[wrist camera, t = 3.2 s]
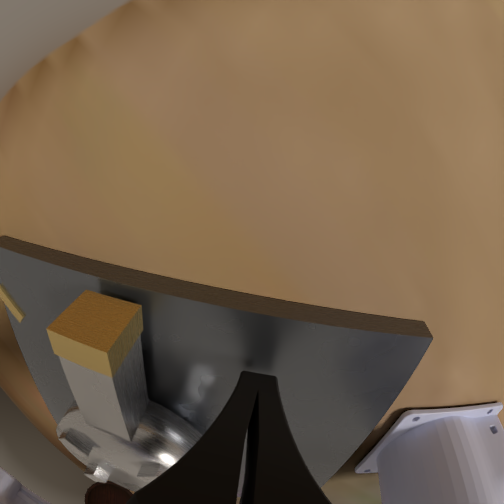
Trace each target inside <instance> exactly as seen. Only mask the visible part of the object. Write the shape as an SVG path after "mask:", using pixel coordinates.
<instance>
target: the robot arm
mask: <svg viewBox="0 0 504 504" xmlns="http://www.w3.org/2000/svg"><path fill="white" fill-rule="evenodd" d="M502 408H503V405H502V403H501V402H498V403H492V404H484V405H476V406H467V407H457V408H444V409H425V410H408V411H406V412H404V413H403V414H402V415H401V416H400V417H399V419H398V420H397V421H396V422H395V424H394V425H393V426H392V427H391V428H390V430H389V431H388V432H387V433H386V434H385V436H384V437H383V438H382V439H381V440H380V441H379V442H378V444H377V445H376V446H375V447H374V448H373V449H372V450H371V451H370V452H369V454H368V455H367V456H366V457H365V458H364V459H363V460H362V461H361V462H360V463H359V464H358V465H357V466H356V467H355V472H356V473H376V472H378V475H379V483H380V491H381V499H382V504H504V429H503V427H502V425H501V423H500V420H499V418H498V416H497V414H498V413H499V412H500V411H501V409H502ZM247 429H248V431H247ZM246 433H247V446H246V461H245V474H244V482H243V488H242V493H241V498H240V504H331V502H330V501H329V500H328V498H327V497H326V496H325V494H324V493H323V491H322V490H321V488H320V487H319V485H318V484H317V482H316V481H315V479H314V478H313V476H312V475H311V473H310V471H309V469H308V467H307V466H306V464H305V462H304V460H303V458H302V456H301V454H300V452H299V450H298V447H297V445H296V443H295V440H294V438H293V435H292V433H291V430H290V427H289V424H288V421H287V418H286V415H285V412H284V408H283V405H282V401H281V397H280V392H279V386H278V378H277V377H276V376H272V375H266V374H260V373H255V372H249V371H242V372H241V373H240V377H239V380H238V382H237V384H236V387H235V389H234V391H233V393H232V394H231V396H230V398H229V400H228V401H227V403H226V404H225V406H224V408H223V409H222V411H221V412H220V414H219V415H218V417H217V418H216V419H215V421H214V422H213V423H212V425H211V426H210V427H209V429H208V430H207V431H206V432H205V433H204V435H203V436H202V437H201V438H200V439H199V440H198V441H197V442H196V444H195V445H194V446H193V447H192V448H191V449H190V450H189V451H188V452H187V453H186V454H185V455H184V456H183V457H181V458H180V459H179V460H178V461H177V462H176V463H175V464H173V465H172V466H171V467H170V468H169V469H167V470H166V471H165V472H164V473H162V474H161V475H160V476H158V477H157V478H156V479H154V480H153V481H151V482H150V483H148V484H147V485H145V486H144V487H142V488H141V489H139V490H138V491H136V492H135V493H134V494H133V495H132V497H131V498H130V499H129V500H128V501H127V502H126V504H236V500H237V492H238V485H239V478H240V471H241V464H242V457H243V450H244V443H245V438H246ZM0 504H51V503H49V502H47V501H46V500H44V499H42V498H41V497H39V496H38V495H36V494H35V493H33V492H32V491H30V490H29V489H27V488H26V487H24V486H23V485H22V484H21V483H20V482H19V481H18V480H17V479H15V478H14V477H13V476H12V475H11V474H9V473H8V472H6V471H5V470H4V469H3V468H1V467H0Z"/></svg>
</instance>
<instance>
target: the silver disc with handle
mask: <svg viewBox="0 0 504 504" xmlns="http://www.w3.org/2000/svg"><path fill="white" fill-rule="evenodd" d="M46 330H47V333H48V336H49V339H50V342H51V345H52V349H53V351H54V354H56V355H58V356H59V359H60V361H61V364H62V367H63V370H64V373H65V375H66V378H67V380H68V383H69V386H70V388H71V391H72V393H73V395H74V398H75V400H74V401H73V403H72V404H71V406H70V407H69V409H68V410H67V412H66V413H65V415H64V416H63V418H62V420H61V421H60V423H59V424H58V426H57V429H56V431H57V435H58V437H59V438H58V440H60V441H61V442H62V443H63V445H64V446H65V447H66V448H67V449H68V450H69V451H70V452H71V453H72V454H73V455H74V456H75V457H76V458H77V459H78V460H79V461H81V462H82V463H83V464H84V465H86V466H87V468H86V470H85V472H84V474H85V475H86V476H87V477H89V478H90V479H92V480H94V481H95V482H103V483H106V482H107V480H110V481H112V482H114V483H116V484H118V485H120V486H122V487H124V488H127V489H129V490H132V491H134V492H136V491H138V490H139V489H141V488H142V487H144V486H145V485H147V484H148V483H150V482H151V481H153V480H154V479H156V478H157V477H158V476H160V475H161V474H162V473H164V472H165V471H166V470H167V469H169V468H170V467H171V466H172V465H173V464H175V463H176V462H177V461H178V460H179V459H180V458H181V457H183V456H184V455H185V454H186V453H187V452H188V451H189V450H190V449H191V448H192V447H193V446H194V445H195V444H196V442H197V441H198V440H199V439H200V438H201V437H202V434H201V433H200V432H199V431H198V430H197V429H196V428H195V427H193V426H192V425H191V424H190V423H189V422H187V421H186V420H184V419H183V418H182V417H180V416H179V415H177V414H175V413H174V412H172V411H171V410H169V409H167V408H165V407H163V406H162V405H160V404H158V403H155V402H153V401H151V400H149V399H148V393H147V386H146V379H145V372H144V363H143V355H142V345H141V335H140V334H141V333H142V331H143V318H142V305H139V304H135V303H132V302H128V301H124V300H121V299H117V298H113V297H110V296H106V295H103V294H100V293H96V292H93V291H90V290H85V291H84V292H83V293H82V294H81V295H80V296H79V297H78V298H77V299H76V300H75V301H74V302H73V303H72V304H70V305H69V306H68V307H67V308H66V309H65V310H64V311H63V312H62V313H61V314H60V315H59V316H58V317H57V318H56V319H55V320H54V321H53V322H52V323H51V324H50V325H49V326H48V327H47V328H46Z"/></svg>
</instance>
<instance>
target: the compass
mask: <svg viewBox="0 0 504 504" xmlns="http://www.w3.org/2000/svg"><path fill="white" fill-rule="evenodd" d="M132 495H133V494H132V493H131V492H130V491H129V490H128V489H127V488H124V487H122V486H120V485H118V484H116V483H114V482H111V481H107V482H106V483H103V482H97V483H95V484H93V485H92V486H91V487H90V488H89V489H88V490H87V492H86V494H85V504H126V502H127V501H128V500H129V499H130V498H131V497H132Z"/></svg>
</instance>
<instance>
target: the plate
mask: <svg viewBox="0 0 504 504" xmlns="http://www.w3.org/2000/svg"><path fill="white" fill-rule="evenodd" d="M85 290H90V291H93V292H96V293H100V294H103V295H106V296H110V297H113V298H117V299H121V300H124V301H128V302H132V303H135V304H139V305H142V318H143V331H142V333H141V334H140V335H141V345H142V355H143V363H144V372H145V379H146V386H147V393H148V399H149V400H151V401H153V402H155V403H158V404H160V405H162V406H163V407H165V408H167V409H169V410H171V411H172V412H174V413H175V414H177V415H179V416H180V417H182V418H183V419H184V420H186V421H187V422H189V423H190V424H191V425H192V426H193V427H195V428H196V429H197V430H198V431H199V432H200V433H201V434H202V436H203V435H204V433H205V432H206V431H207V430H208V429H209V427H210V426H211V425H212V423H213V422H214V421H215V419H216V418H217V417H218V415H219V414H220V412H221V411H222V409H223V408H224V406H225V404H226V403H227V401H228V400H229V398H230V396H231V394H232V393H233V391H234V389H235V387H236V384H237V382H238V380H239V377H240V373H241V372H242V371H249V372H255V373H260V374H266V375H272V376H276V377H277V378H278V386H279V392H280V397H281V401H282V405H283V408H284V412H285V415H286V418H287V421H288V424H289V427H290V430H291V433H292V435H293V438H294V440H295V443H296V445H297V447H298V450H299V452H300V454H301V456H302V458H303V460H304V462H305V464H306V466H307V467H308V469H309V471H310V473H311V475H312V476H313V478H314V479H315V481H316V482H317V484H318V485H319V487H320V488H321V487H322V486H323V485H324V484H325V483H326V482H327V481H328V480H329V479H330V478H331V477H332V476H333V475H334V474H335V473H336V472H337V471H338V470H339V469H340V467H341V466H342V465H343V464H344V463H345V462H346V461H347V460H348V459H349V458H350V456H351V455H352V454H353V453H354V452H355V451H356V450H357V448H358V447H359V446H360V445H361V444H362V442H363V441H364V440H365V439H366V438H367V436H368V435H369V434H370V433H371V431H372V430H373V429H374V428H375V426H376V425H377V424H378V422H379V421H380V420H381V419H382V417H383V416H384V414H385V413H386V412H387V410H388V409H389V408H390V406H391V405H392V403H393V402H394V401H395V399H396V398H397V396H398V395H399V393H400V392H401V390H402V389H403V388H404V386H405V385H406V383H407V381H408V380H409V378H410V377H411V375H412V374H413V372H414V370H415V369H416V367H417V366H418V364H419V362H420V361H421V359H422V357H423V356H424V354H425V352H426V350H427V349H428V347H429V345H430V343H431V342H432V340H433V336H432V335H431V333H430V331H429V329H428V327H427V326H426V324H425V322H423V321H415V320H407V319H399V318H392V317H385V316H378V315H371V314H364V313H357V312H351V311H344V310H338V309H331V308H325V307H319V306H313V305H307V304H301V303H295V302H290V301H284V300H278V299H273V298H267V297H262V296H257V295H251V294H246V293H241V292H236V291H231V290H226V289H221V288H216V287H211V286H206V285H201V284H196V283H191V282H187V281H182V280H177V279H173V278H168V277H164V276H159V275H155V274H150V273H146V272H142V271H137V270H133V269H129V268H124V267H120V266H116V265H112V264H108V263H104V262H100V261H96V260H92V259H88V258H84V257H80V256H76V255H72V254H68V253H65V252H61V251H57V250H53V249H50V248H46V247H42V246H39V245H35V244H31V243H28V242H24V241H21V240H17V239H14V238H10V237H7V236H2V237H0V298H1V299H2V301H3V302H4V304H5V307H6V310H7V314H8V317H9V320H10V323H11V325H12V328H13V331H14V334H15V337H16V339H17V342H18V344H19V347H20V349H21V352H22V354H23V357H24V359H25V362H26V364H27V366H28V368H29V371H30V373H31V375H32V377H33V379H34V381H35V383H36V386H37V388H38V390H39V392H40V394H41V396H42V397H43V399H44V401H45V403H46V405H47V407H48V409H49V411H50V412H51V414H52V416H53V418H54V419H55V421H56V423H57V424H59V423H60V421H61V420H62V418H63V416H64V415H65V413H66V412H67V410H68V409H69V407H70V406H71V404H72V403H73V401H74V400H75V398H74V395H73V393H72V391H71V388H70V386H69V383H68V380H67V378H66V375H65V373H64V370H63V367H62V364H61V361H60V359H59V356H58V355H56V354H54V351H53V349H52V345H51V342H50V339H49V336H48V333H47V330H46V328H47V327H48V326H49V325H50V324H51V323H52V322H53V321H54V320H55V319H56V318H57V317H58V316H59V315H60V314H61V313H62V312H63V311H64V310H65V309H66V308H67V307H68V306H69V305H70V304H72V303H73V302H74V301H75V300H76V299H77V298H78V297H79V296H80V295H81V294H82V293H83V292H84V291H85ZM247 431H248V429H247ZM246 446H247V433H246V438H245V443H244V450H243V457H242V464H241V471H240V478H239V485H238V492H237V497H241V493H242V488H243V482H244V474H245V461H246Z"/></svg>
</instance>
